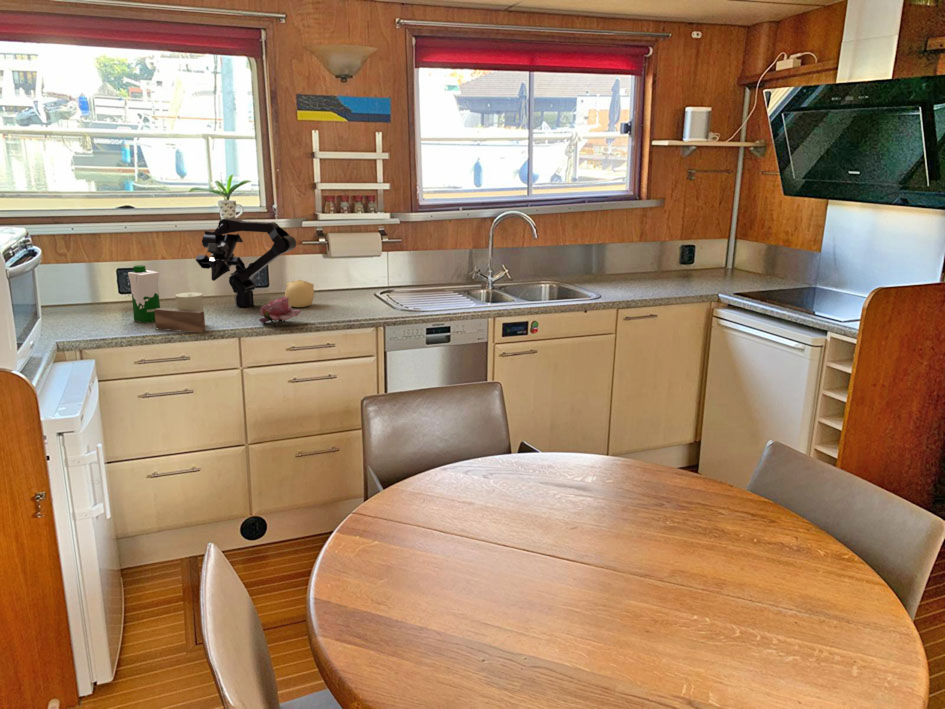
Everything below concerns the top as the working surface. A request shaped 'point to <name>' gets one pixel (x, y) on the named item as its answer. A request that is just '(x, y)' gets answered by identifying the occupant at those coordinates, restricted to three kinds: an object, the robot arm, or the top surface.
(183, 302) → the can
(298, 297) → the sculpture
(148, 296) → the milk carton
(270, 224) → the robot arm
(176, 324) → the brown box
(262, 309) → the flower
